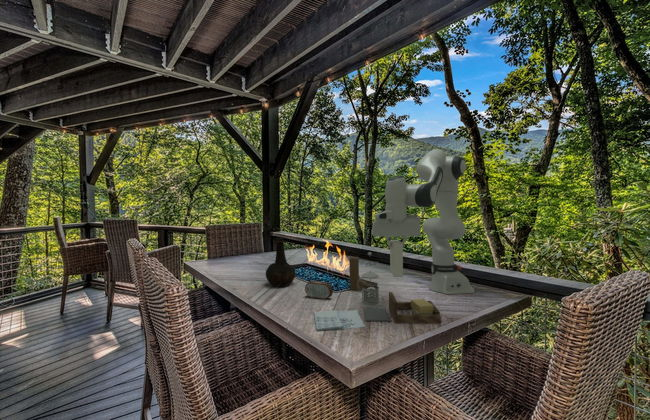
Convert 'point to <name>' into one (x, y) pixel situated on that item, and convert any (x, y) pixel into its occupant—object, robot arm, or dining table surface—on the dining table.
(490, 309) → the dining table surface
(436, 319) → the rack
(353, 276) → the wooden block
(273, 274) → the dark brown vase
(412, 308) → the offcut lower
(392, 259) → the pale grey rectangular block
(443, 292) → the robot arm
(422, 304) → the offcut upper
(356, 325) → the light flat printed piece
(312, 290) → the tin
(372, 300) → the french press
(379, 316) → the pad
